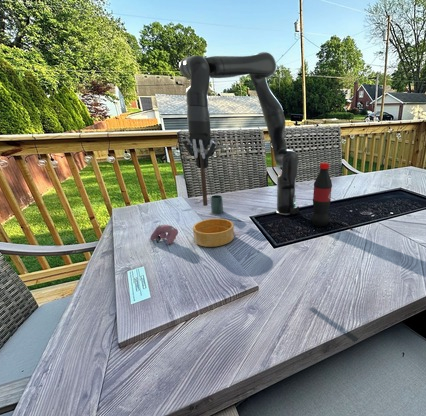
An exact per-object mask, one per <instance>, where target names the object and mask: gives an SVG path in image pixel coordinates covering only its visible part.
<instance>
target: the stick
mask: <svg viewBox="0 0 426 416" xmlns="http://www.w3.org/2000/svg"><path fill="white" fill-rule="evenodd" d="M199 158H200V168H199V169H200V179H201V181H200V182H201V194H202V206H204V207H207V206H208V191H207V179H206V168H205V169H204V168H203V165H202V159H203V158H202V153H201V154H199Z"/></svg>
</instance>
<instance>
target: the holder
mask: <svg viewBox="0 0 426 416" xmlns="http://www.w3.org/2000/svg"><path fill="white" fill-rule="evenodd" d="M209 197H210V210H211V214H213V215H220V214H223V213H224V203H223V196H222V195H220V194H214V195H211V196H209Z"/></svg>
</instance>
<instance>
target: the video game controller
mask: <svg viewBox="0 0 426 416" xmlns="http://www.w3.org/2000/svg"><path fill="white" fill-rule="evenodd" d="M178 235H179V230H178V229H177V228H175V227H174V226H173V225H170V224H159V225H157V226H156V228H155V229H154V230H153V232H152V233H151V235H150V240H151V241H154V240H156V239H157V238H160V239H166V240H167V241H166V243H167V245H171V244H172V243H174V241H175V239H176V237H177V236H178Z"/></svg>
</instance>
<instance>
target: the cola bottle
mask: <svg viewBox="0 0 426 416" xmlns="http://www.w3.org/2000/svg"><path fill="white" fill-rule="evenodd" d="M329 169H330V164H329V163H328V162H320V164H319V172H318V175H317V176H316V178H315V181H314V183H313V196H312V207H313V209H312V210H313V212H312V215H311V219H312V221H311V223H312V225H313V226H314V227H317V228H324V227H327V226H328V225H329V223H330V222H329V221H330V215H329V210H330V205H331V201H332V200H331V198H332V188H333V182H332V179H331V176H330V174H329Z"/></svg>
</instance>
